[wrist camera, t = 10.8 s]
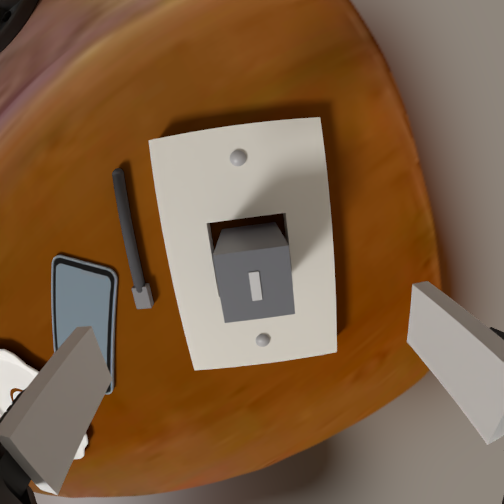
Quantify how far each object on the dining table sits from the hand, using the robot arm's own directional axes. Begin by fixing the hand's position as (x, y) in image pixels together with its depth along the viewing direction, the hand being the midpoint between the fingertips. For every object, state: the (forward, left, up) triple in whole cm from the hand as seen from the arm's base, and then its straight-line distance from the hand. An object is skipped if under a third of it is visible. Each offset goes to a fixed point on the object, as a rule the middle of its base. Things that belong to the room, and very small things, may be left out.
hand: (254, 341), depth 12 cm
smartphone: (+6, -18, -16) cm, 25 cm away
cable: (-3, -10, -15) cm, 18 cm away
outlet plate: (0, 0, -15) cm, 15 cm away
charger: (+1, 0, -15) cm, 15 cm away
